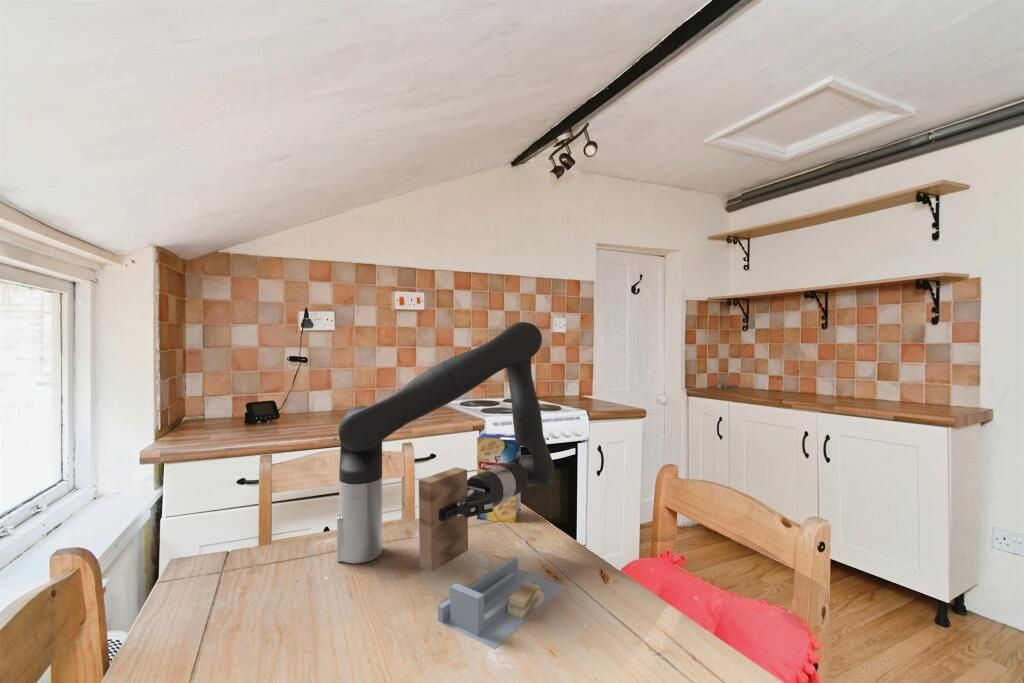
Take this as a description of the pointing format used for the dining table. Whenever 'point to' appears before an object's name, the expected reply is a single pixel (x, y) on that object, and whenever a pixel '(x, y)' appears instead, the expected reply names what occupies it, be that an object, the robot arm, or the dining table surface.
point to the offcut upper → (524, 596)
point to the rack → (491, 604)
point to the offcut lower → (530, 608)
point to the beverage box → (493, 455)
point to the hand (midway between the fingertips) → (433, 513)
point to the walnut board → (441, 536)
